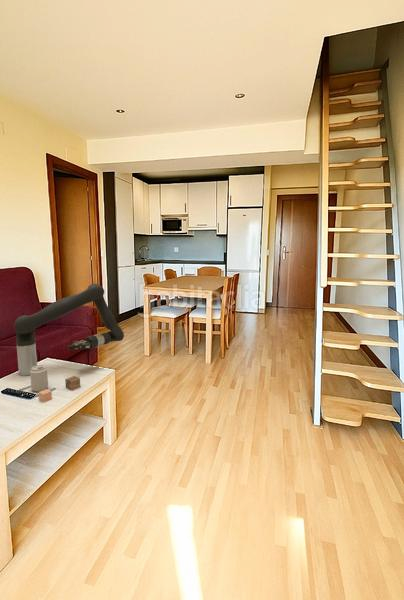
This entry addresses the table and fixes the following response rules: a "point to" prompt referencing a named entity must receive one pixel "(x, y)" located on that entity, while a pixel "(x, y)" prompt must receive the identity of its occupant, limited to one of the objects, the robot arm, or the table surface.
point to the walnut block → (72, 382)
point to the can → (39, 378)
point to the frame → (30, 386)
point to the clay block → (45, 395)
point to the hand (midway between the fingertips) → (68, 348)
